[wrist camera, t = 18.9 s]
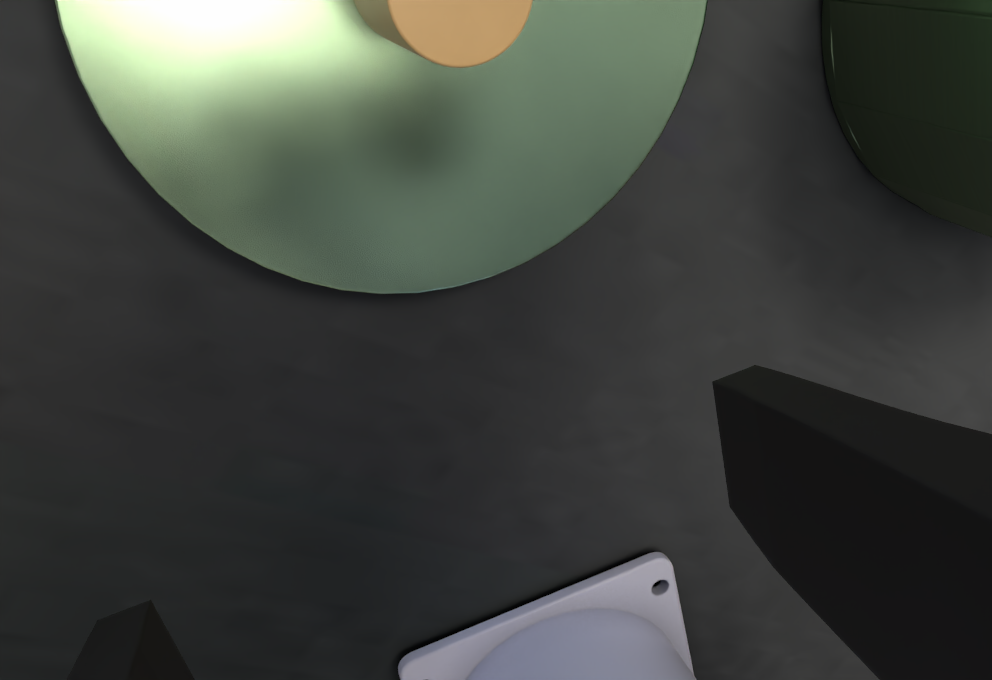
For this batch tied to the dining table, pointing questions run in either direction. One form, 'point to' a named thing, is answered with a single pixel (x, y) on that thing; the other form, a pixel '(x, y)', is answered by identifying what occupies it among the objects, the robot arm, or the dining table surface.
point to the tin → (917, 98)
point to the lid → (384, 122)
